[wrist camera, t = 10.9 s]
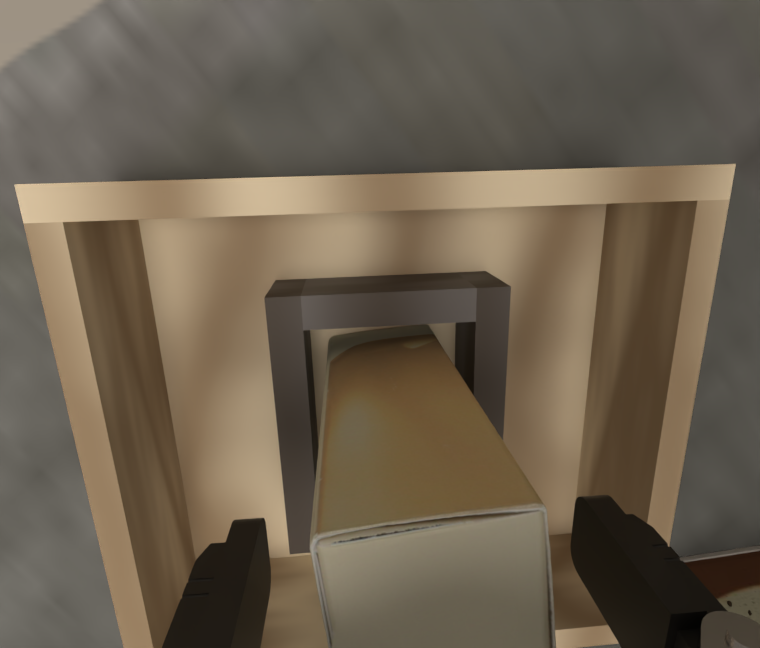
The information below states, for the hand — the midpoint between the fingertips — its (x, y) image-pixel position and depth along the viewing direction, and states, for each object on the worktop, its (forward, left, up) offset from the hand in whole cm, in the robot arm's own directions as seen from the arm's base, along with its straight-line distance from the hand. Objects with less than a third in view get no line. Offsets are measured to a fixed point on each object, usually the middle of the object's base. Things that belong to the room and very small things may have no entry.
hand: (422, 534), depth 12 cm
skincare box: (0, 0, -9) cm, 9 cm away
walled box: (0, 0, -10) cm, 10 cm away
